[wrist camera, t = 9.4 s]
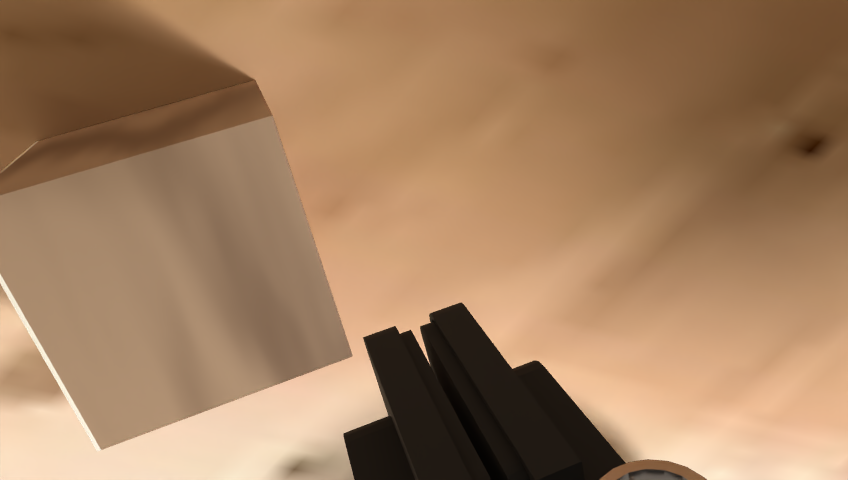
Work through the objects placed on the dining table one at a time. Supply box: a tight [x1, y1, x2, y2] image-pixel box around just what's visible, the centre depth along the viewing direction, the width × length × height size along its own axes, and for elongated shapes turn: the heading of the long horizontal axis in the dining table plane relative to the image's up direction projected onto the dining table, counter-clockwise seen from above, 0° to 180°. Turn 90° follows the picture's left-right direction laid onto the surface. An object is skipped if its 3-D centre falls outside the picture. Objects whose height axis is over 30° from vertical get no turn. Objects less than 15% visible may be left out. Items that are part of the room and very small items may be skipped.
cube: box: [0, 80, 352, 451], centre depth 19 cm, size 7×7×7 cm
